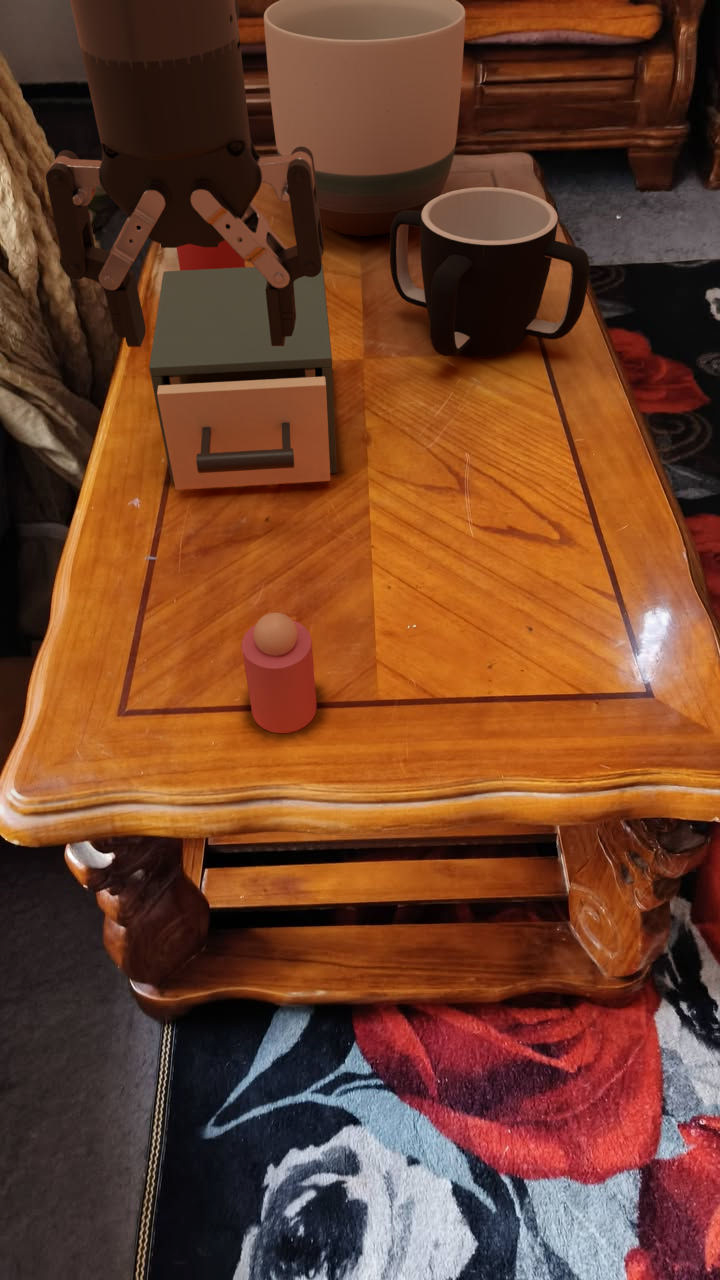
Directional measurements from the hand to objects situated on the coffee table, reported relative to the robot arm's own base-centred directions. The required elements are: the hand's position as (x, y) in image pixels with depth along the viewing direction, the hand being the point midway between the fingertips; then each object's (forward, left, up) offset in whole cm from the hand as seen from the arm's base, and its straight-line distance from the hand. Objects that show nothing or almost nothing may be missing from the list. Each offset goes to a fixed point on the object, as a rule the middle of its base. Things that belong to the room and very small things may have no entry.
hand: (208, 340), depth 57 cm
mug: (+23, +32, -19) cm, 44 cm away
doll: (+3, -13, -19) cm, 23 cm away
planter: (+14, +59, -19) cm, 64 cm away
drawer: (+1, +14, -18) cm, 23 cm away
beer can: (-3, +42, -19) cm, 47 cm away
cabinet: (+1, +19, -19) cm, 27 cm away
